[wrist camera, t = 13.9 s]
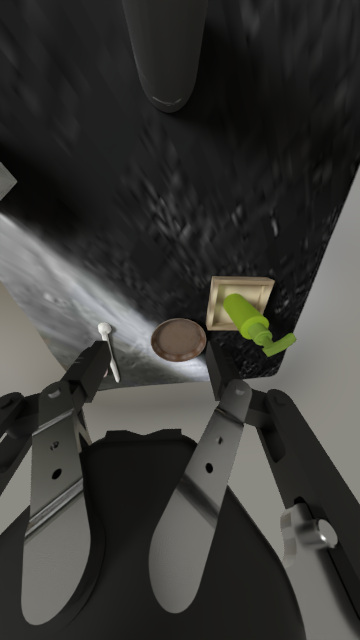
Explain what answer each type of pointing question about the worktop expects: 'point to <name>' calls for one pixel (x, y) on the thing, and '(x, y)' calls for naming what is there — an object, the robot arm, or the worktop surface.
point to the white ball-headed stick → (104, 330)
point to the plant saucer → (178, 340)
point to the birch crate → (247, 287)
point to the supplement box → (5, 181)
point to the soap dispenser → (254, 324)
